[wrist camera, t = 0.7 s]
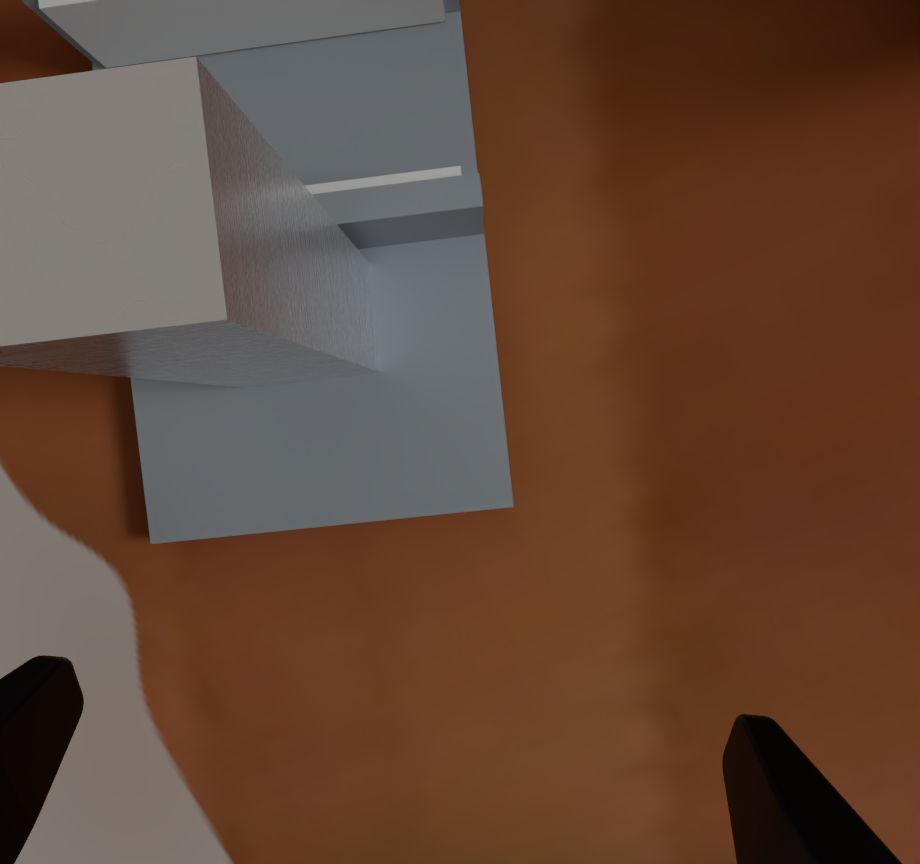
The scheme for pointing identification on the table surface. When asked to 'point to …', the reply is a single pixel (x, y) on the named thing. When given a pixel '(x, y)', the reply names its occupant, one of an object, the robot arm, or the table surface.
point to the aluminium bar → (167, 238)
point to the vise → (371, 231)
